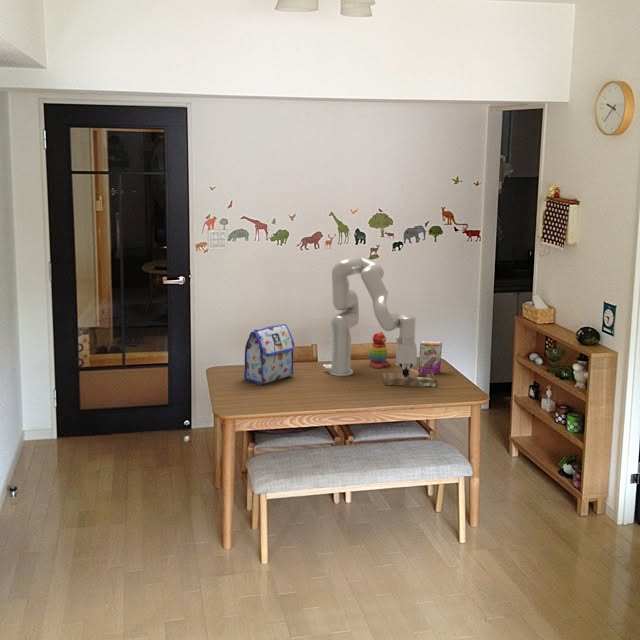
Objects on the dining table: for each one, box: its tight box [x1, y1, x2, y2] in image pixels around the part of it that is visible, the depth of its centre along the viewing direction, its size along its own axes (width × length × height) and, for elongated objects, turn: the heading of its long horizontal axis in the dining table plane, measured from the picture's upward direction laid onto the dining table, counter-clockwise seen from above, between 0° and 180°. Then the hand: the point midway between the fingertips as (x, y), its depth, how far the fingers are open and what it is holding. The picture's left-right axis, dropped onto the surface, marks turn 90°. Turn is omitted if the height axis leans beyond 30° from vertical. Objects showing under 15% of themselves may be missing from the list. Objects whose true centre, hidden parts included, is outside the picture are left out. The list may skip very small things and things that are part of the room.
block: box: [408, 368, 420, 379], centre depth 422 cm, size 4×4×4 cm
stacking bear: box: [368, 331, 391, 369], centre depth 452 cm, size 11×10×18 cm
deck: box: [382, 371, 437, 388], centre depth 426 cm, size 25×15×4 cm, turn 89°
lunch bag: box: [243, 323, 295, 386], centre depth 424 cm, size 23×17×27 cm
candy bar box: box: [418, 340, 443, 375], centre depth 440 cm, size 11×5×16 cm, turn 84°
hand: (405, 376), depth 422 cm, fingers closed
